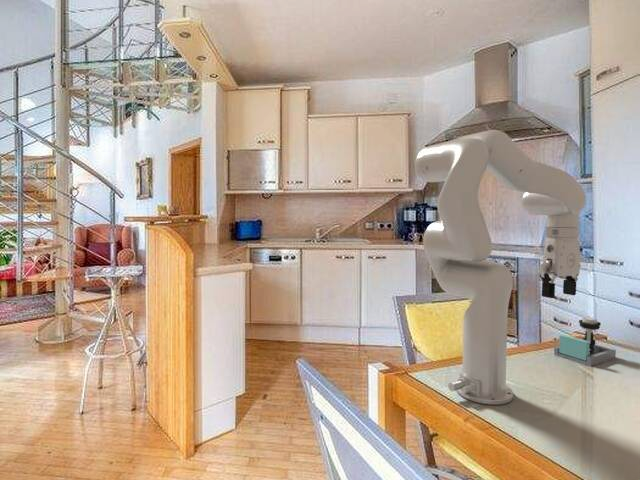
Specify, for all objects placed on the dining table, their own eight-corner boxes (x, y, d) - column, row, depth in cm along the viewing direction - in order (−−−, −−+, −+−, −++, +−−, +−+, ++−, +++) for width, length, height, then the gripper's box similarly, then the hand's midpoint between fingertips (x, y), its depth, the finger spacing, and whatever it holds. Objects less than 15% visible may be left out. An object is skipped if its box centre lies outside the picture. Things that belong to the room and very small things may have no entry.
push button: (598, 357, 109) (599, 323, 109) (576, 353, 113) (577, 320, 112) (600, 351, 114) (601, 318, 114) (578, 347, 118) (579, 315, 117)
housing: (590, 366, 105) (590, 358, 105) (554, 354, 114) (554, 347, 114) (615, 357, 111) (615, 349, 111) (579, 347, 120) (579, 340, 120)
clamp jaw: (585, 360, 106) (586, 342, 106) (558, 352, 113) (559, 335, 113) (588, 359, 107) (589, 341, 107) (561, 351, 114) (562, 334, 113)
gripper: (556, 234, 97) (553, 301, 98) (594, 234, 105) (591, 295, 106) (528, 233, 104) (526, 295, 105) (566, 233, 112) (563, 291, 112)
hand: (558, 295), depth 105 cm, fingers open, 9 cm apart
